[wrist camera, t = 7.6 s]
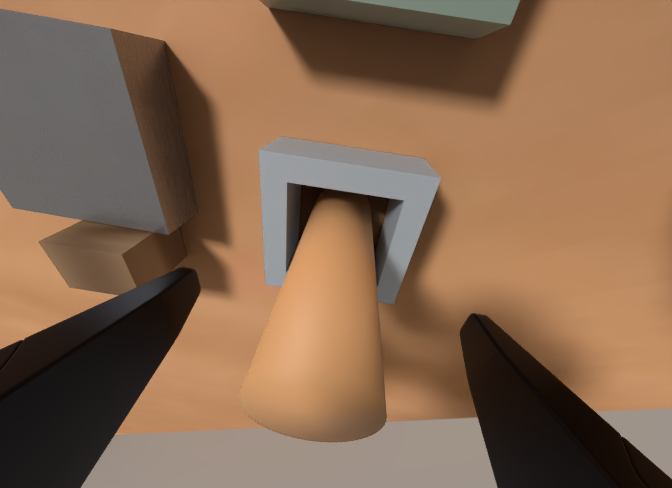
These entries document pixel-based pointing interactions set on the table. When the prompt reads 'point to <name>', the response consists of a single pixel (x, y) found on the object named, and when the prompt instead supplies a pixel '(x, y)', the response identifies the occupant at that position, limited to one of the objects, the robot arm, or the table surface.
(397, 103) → the table surface
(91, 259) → the block
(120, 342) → the robot arm
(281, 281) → the socket block
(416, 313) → the table surface
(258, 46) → the table surface
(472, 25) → the tray
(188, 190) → the grey slab
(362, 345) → the dowel
